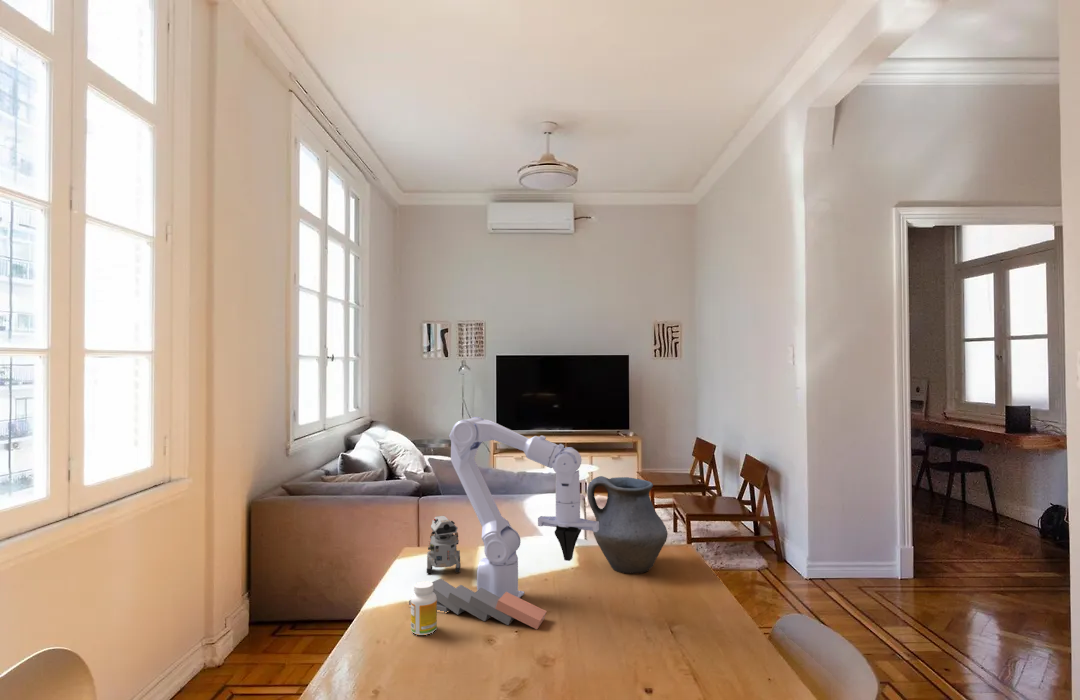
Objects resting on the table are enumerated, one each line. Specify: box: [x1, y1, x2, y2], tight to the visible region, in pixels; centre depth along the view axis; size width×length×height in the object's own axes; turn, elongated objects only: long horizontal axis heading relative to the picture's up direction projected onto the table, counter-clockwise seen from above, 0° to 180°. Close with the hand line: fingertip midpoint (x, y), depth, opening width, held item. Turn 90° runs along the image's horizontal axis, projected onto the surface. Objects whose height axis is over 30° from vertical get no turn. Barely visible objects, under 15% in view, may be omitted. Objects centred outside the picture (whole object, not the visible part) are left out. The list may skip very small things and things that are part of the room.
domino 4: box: [469, 588, 516, 626], centre depth 131 cm, size 2×5×10 cm
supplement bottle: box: [410, 580, 438, 635], centre depth 125 cm, size 5×5×10 cm
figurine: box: [426, 515, 462, 574], centre depth 159 cm, size 9×12×15 cm
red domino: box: [495, 592, 548, 630], centre depth 129 cm, size 2×5×10 cm
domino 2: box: [431, 578, 466, 615], centre depth 137 cm, size 2×5×10 cm
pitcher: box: [586, 475, 669, 574], centre depth 163 cm, size 21×22×25 cm
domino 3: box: [447, 584, 492, 622], centre depth 133 cm, size 2×5×10 cm
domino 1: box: [408, 599, 450, 612], centre depth 138 cm, size 2×5×10 cm
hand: (568, 559), depth 139 cm, fingers closed
